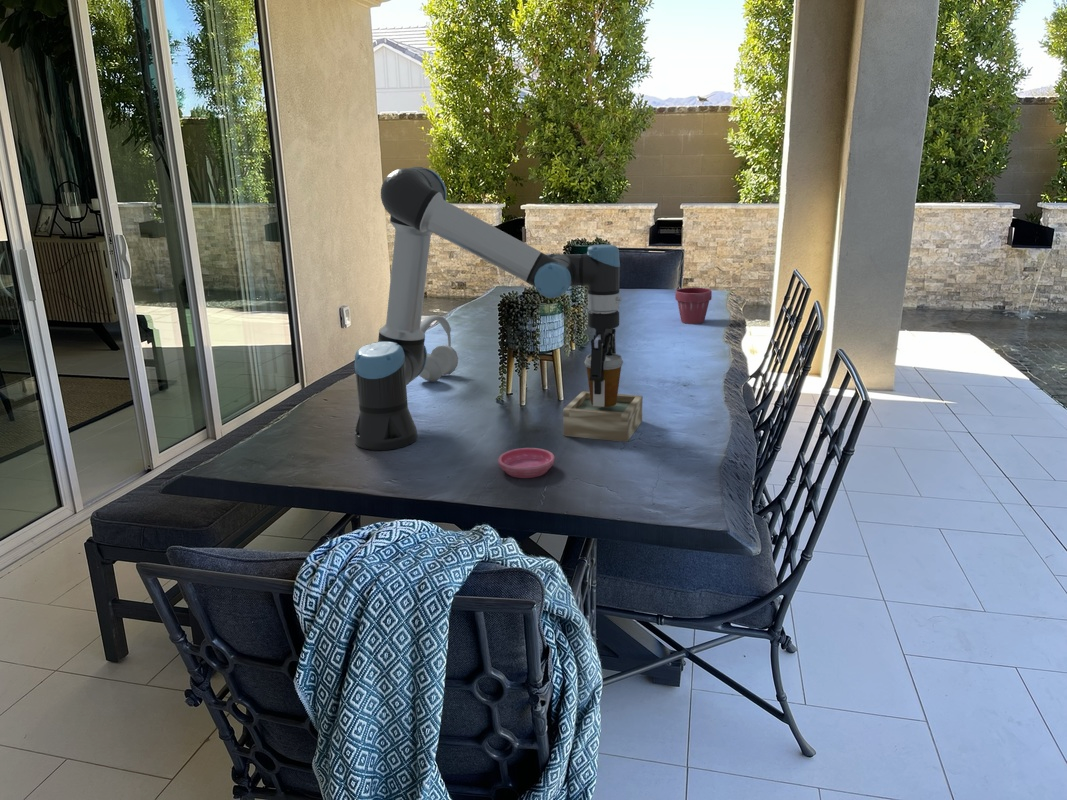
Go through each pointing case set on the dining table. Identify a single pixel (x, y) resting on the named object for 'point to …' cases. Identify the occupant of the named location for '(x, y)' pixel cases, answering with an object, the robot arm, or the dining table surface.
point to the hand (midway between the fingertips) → (603, 400)
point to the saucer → (526, 462)
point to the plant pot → (693, 304)
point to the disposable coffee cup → (607, 377)
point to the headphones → (439, 353)
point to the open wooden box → (603, 418)
